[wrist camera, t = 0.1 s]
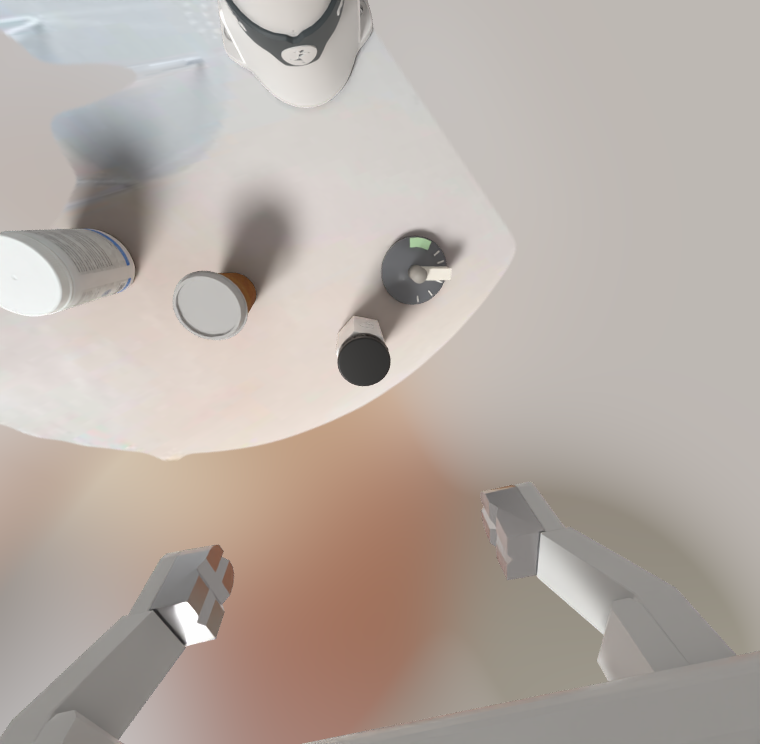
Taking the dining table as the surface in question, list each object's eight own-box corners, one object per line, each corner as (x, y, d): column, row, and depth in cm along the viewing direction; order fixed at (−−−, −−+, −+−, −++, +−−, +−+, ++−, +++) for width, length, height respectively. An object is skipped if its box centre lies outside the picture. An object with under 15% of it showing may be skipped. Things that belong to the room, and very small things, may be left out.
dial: (376, 242, 51) (376, 243, 50) (442, 230, 51) (444, 230, 50) (386, 308, 56) (387, 310, 54) (446, 296, 56) (449, 298, 54)
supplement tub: (62, 223, 46) (-54, 221, 33) (133, 234, 47) (49, 237, 34) (77, 289, 50) (-21, 311, 37) (142, 298, 51) (70, 323, 38)
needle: (407, 279, 52) (411, 283, 49) (408, 264, 51) (412, 267, 48) (445, 279, 53) (452, 283, 49) (446, 264, 52) (453, 267, 48)
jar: (389, 320, 57) (398, 342, 46) (380, 361, 60) (387, 390, 49) (341, 311, 55) (339, 332, 44) (334, 353, 58) (330, 382, 48)
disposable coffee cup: (277, 303, 54) (259, 323, 43) (231, 329, 55) (202, 354, 44) (242, 251, 50) (212, 258, 39) (193, 279, 51) (151, 294, 40)
